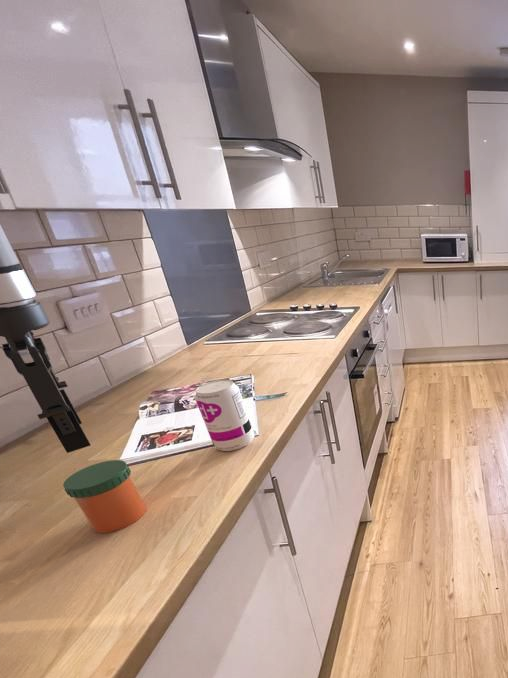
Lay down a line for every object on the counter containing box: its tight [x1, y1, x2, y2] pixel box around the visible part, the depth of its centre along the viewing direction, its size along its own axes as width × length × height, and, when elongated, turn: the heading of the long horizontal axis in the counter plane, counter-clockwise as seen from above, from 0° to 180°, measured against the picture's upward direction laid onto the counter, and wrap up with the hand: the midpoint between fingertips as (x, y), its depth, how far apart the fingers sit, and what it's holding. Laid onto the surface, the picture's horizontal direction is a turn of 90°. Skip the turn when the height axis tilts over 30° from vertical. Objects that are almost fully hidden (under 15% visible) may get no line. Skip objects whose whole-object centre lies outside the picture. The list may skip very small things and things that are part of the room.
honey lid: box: [62, 459, 132, 499], centre depth 71 cm, size 8×8×2 cm
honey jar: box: [73, 475, 147, 534], centre depth 73 cm, size 7×7×10 cm
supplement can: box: [194, 379, 255, 452], centre depth 94 cm, size 8×8×15 cm
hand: (74, 436), depth 67 cm, fingers open, 10 cm apart
